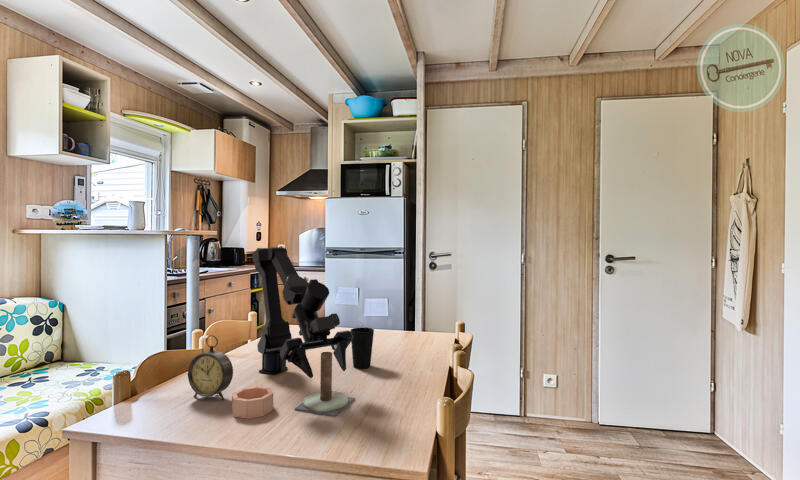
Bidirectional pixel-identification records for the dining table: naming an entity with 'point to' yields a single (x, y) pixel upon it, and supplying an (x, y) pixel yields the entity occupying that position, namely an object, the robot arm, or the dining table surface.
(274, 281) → the robot arm
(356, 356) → the cup
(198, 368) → the alarm clock
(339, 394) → the wooden peg on disc
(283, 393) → the dining table surface
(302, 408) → the mat
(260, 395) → the bowl
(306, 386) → the dining table surface
